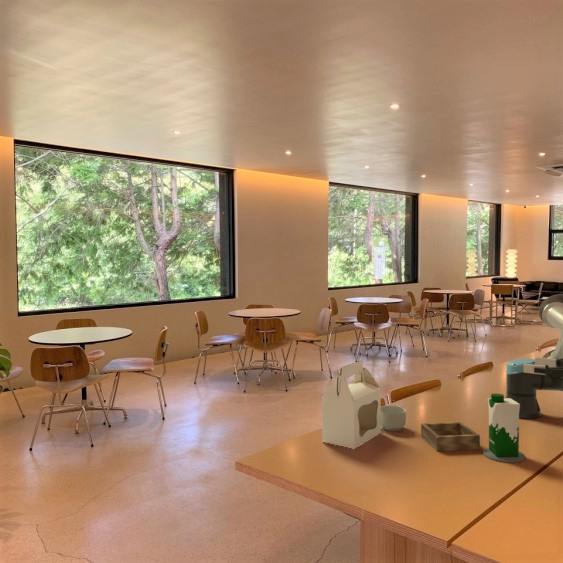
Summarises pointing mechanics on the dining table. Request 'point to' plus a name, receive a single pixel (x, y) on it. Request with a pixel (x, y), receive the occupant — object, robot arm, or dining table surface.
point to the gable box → (351, 408)
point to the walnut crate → (450, 436)
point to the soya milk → (503, 426)
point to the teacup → (393, 417)
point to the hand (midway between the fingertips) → (529, 364)
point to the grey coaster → (504, 459)
